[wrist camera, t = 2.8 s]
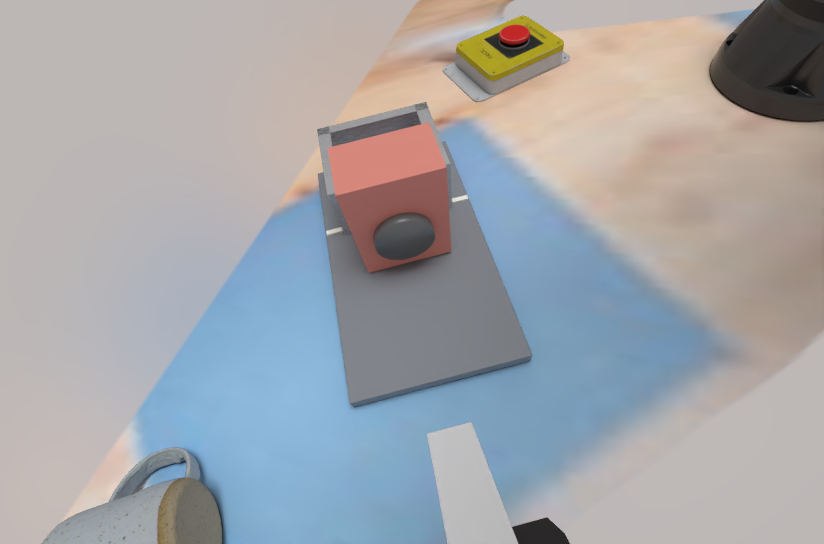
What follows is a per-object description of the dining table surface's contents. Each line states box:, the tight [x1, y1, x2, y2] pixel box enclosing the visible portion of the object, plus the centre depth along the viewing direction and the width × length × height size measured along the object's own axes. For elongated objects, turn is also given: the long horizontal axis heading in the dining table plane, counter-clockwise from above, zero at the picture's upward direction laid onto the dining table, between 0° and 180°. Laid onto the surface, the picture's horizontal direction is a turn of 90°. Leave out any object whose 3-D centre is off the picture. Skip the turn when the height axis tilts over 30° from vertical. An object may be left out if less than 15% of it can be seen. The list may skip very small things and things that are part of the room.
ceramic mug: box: [42, 447, 222, 544], centre depth 26 cm, size 11×8×8 cm
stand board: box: [318, 142, 532, 407], centre depth 38 cm, size 15×26×2 cm, turn 13°
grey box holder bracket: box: [317, 102, 452, 235], centre depth 39 cm, size 11×9×6 cm
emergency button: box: [443, 16, 570, 102], centre depth 51 cm, size 9×4×15 cm
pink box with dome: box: [328, 122, 451, 273], centre depth 33 cm, size 8×6×11 cm
